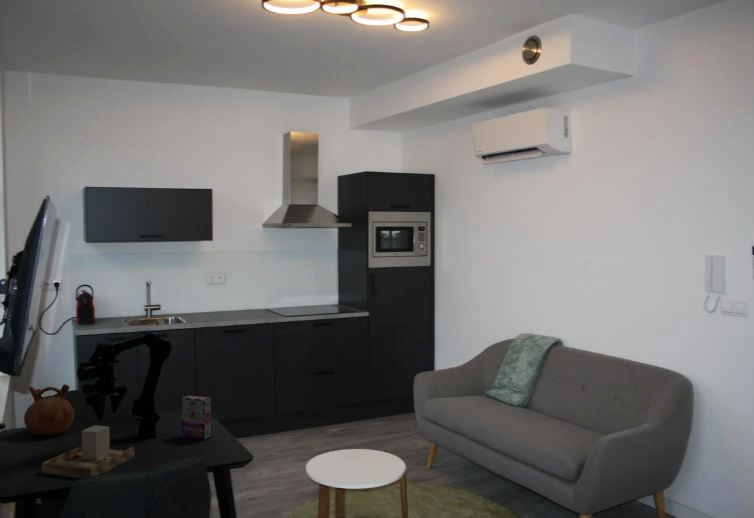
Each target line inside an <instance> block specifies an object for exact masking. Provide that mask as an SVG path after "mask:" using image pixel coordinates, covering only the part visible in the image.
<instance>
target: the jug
mask: <svg viewBox="0 0 754 518" xmlns="http://www.w3.org/2000/svg"><path fill="white" fill-rule="evenodd" d="M28 390H29V392H30V394H31V396H32V398H33V403H31V404H30V405H29V406H28V407H27V409H26V411H25V413H24V415H23V421H24V425H25V428H26V429H27V431H29V432H30V433H31V434H32V435H33V436H34V437H36V436H37V437H36V438H43V437H45V438H53V436H54V437H58V436H57V435H59V436H61V434H62V435H64V434H65V433H66V432H67V430H68V429H69V428H70V427H71V425H72V423H73V421H74V419H75V410H74V407H73V406H72V404H71V403H70V402H69V401H68V400H67V399H66V396H67V393H68V392H69V390H70V386H69V385H68V384H63V385H62V387H61V388H60V389H59V388H58V387H54V386H46V387H44V388H42V389H41V388H37V389H36V388H34V387H33V386H28ZM48 391H54V392H56V393H57V395H47V396H42V395H43V394H44V393H46V392H48ZM63 433H64V434H63Z"/></svg>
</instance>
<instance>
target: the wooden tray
mask: <svg viewBox="0 0 754 518" xmlns="http://www.w3.org/2000/svg"><path fill="white" fill-rule="evenodd" d="M109 449H110V454H108V455H106V456H104V457H102V458H100V459H98V460H90V459H82V444H81V445H79V446H77V447H75V448H73V449H71V450H68V451H66V452H63V453H61V454H59V455H56V456H55V457H52V458H50V459H48V460H45V461H43V462H42V463H41V467H42V468H41V469H42V470H41V471H42V474H44V475H50V474H51V475H53V476H59V477H66V478H67V477H69V478H74V479H75V478H76V479H83V478H84V477H89V476H95V475H99V474H101V475H102V474H104V473H106V472H108V471H111V469H114V468H116V467H117V466H120V465H122V464H123V463H125V462H128V461H129V460H131V459H133V458H135V455H136V454H135V449H136V448H135V447H133V446H132V447H129V448H128V449H126V450H121V449H120V450H119V449H111V448H109ZM99 476H100V475H99Z"/></svg>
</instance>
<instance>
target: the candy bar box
mask: <svg viewBox="0 0 754 518" xmlns="http://www.w3.org/2000/svg"><path fill="white" fill-rule="evenodd" d="M182 436H186V437H192V438H198V439H206V438H208V439H210V438H209V437H211V438H212V397H209V396H208V397H207V396H202V395H201V396H199V395H191V394H190V395H185V396H182V397H181V437H182ZM198 439H197V440H198ZM206 440H207V439H206Z"/></svg>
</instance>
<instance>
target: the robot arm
mask: <svg viewBox="0 0 754 518" xmlns="http://www.w3.org/2000/svg"><path fill="white" fill-rule="evenodd" d="M142 345H145V346H146V347H147V348H149V353H148V354H149V359H150V361H149V362H150V363H149V366H148V369H147V371H146V372H147V373H146V376H145V380H144V384H143V388H142V391H141V395H140V396H139V397H137V398H134V399H133V402H132V406H131V413H132V416H133V417H134V419H135V421H137V422H138V424H137V426H136V428H137V433H136V434H137V437H138V439H139V440H144V439H145V438H147V439H153V438H158V437H157V423H158V422H159V421H160V415H159V414H157V412H156V411H155V408H156V407H155V406H156V404H155V400H154V398H155V394H156V390H157V385H158V382H159V378H160V375H161V371H162V368H163V365H164V362H165V361H166V360H167V359H168V358H169V356H170V354H171V351H172V347H173V346H172V344H171V342H170V341H167V340H164V339H161V338H160V337H158V336H156V335H155V334H153V333H152V332H148V331H143V332H141V333H138V334H136V335H132V336H129V337H127V338H123V339H121V340H117V341H106V342H99V343H97V344H96V347H95V349H94V351H93V353H92V354H91V356H90V358H89V359H88V361H85V362H84V361H82V362H80V363H79V366H78V368H77V370H76V376H77V379H78V380H79V381H80V382H85V381H90V380H95V381H94V383H92V384H89V383H85V384H84V385H83V384H82V387H81V388H82V389H81V392H82V393H83V394H84V395H85V396H86V397H85V399H84V401H85V402H84V404H86V405H88V406H91V407H92V409H93V410H94V413H95V415H96V418H97V420H98V421H102V419H103V417H104V416H103V415H104V412H105V409H106V405H107V402H106V400H107V399H106V398H107V397H109V399H110V403H111V404H110V405H111V411H112V414H116V413H117V411H118V409H119V406H120V404H121V402H122V400H123V398H124V396H126V393H127V392H128V387H127V386H126V385H124V384H115V382H116V381H118V377H115V365H116V364H119V363H120V360H118V359H117V356H120V354H121V353H122V352H125V351H128V350H130V349H134V348H136V347H140V346H142ZM145 440H146V439H145Z"/></svg>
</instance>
